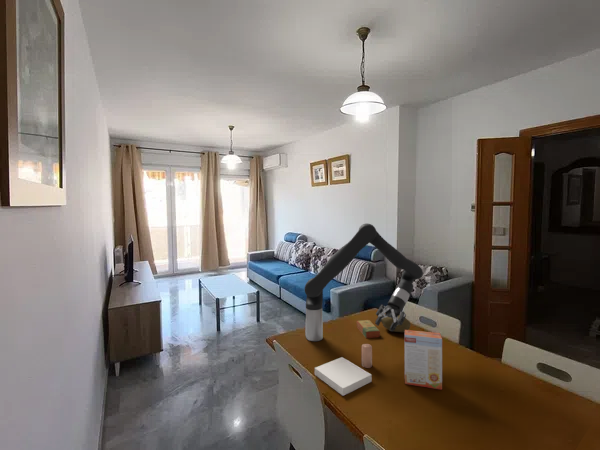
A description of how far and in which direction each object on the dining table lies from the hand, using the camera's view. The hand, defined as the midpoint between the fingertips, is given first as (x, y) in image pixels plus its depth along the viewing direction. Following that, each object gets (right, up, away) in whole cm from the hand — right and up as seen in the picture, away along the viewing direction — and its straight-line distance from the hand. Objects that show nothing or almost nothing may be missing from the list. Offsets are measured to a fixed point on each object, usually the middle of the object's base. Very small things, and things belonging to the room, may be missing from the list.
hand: (383, 327), depth 141 cm
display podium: (-22, -16, -16) cm, 31 cm away
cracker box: (+10, -16, -20) cm, 28 cm away
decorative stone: (+15, -13, +31) cm, 37 cm away
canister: (-9, -15, -6) cm, 19 cm away
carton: (-1, -14, +31) cm, 34 cm away
